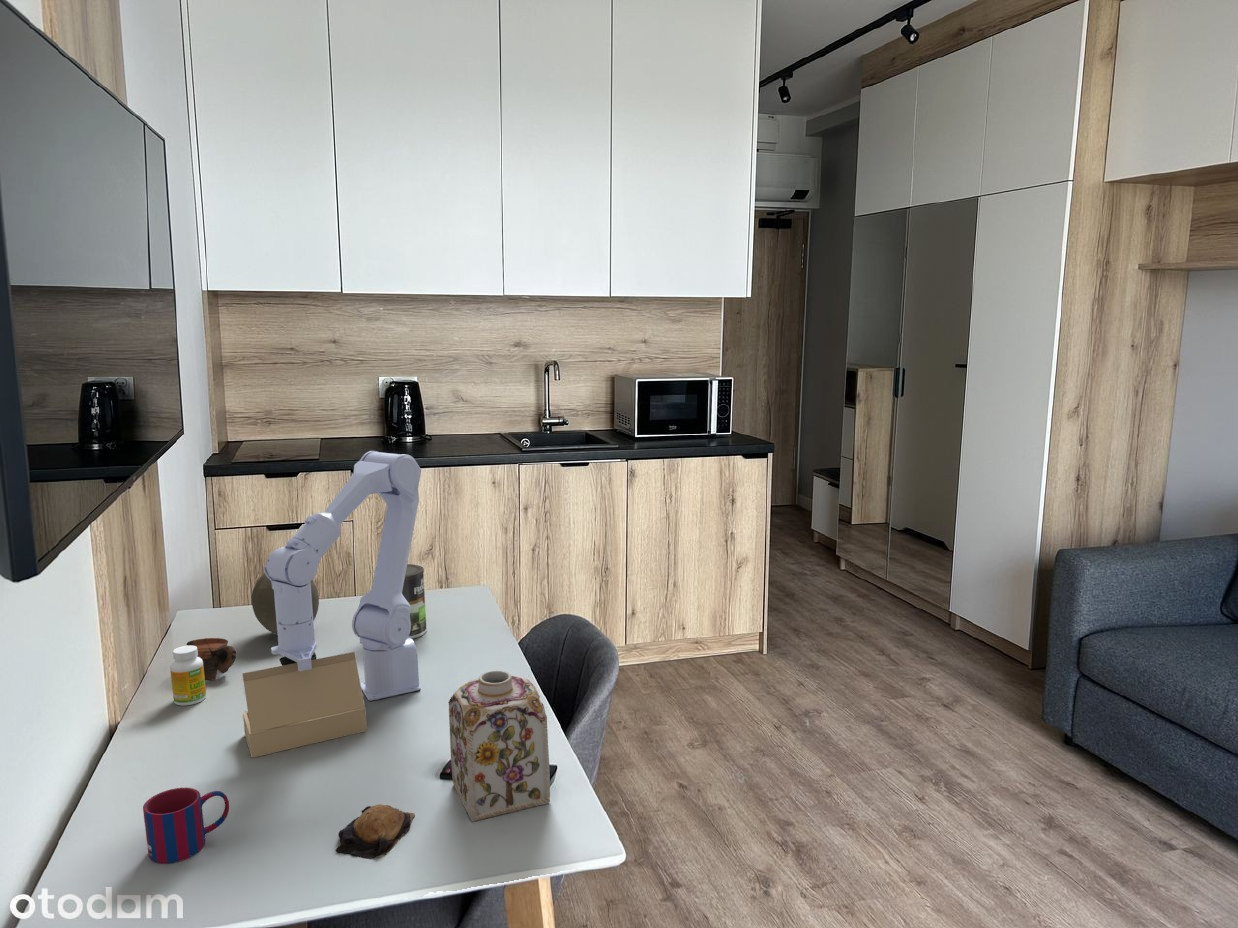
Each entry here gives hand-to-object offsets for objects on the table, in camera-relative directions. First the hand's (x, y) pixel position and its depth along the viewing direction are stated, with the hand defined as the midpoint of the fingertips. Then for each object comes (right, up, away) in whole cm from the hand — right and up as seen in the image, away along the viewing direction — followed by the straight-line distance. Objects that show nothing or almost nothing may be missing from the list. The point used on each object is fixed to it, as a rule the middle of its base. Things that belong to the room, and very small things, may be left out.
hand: (301, 696), depth 150 cm
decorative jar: (+36, -9, -21) cm, 43 cm away
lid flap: (+2, +2, -4) cm, 5 cm away
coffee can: (+6, +2, +45) cm, 46 cm away
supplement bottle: (-25, -4, +13) cm, 28 cm away
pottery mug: (-26, -2, +25) cm, 36 cm away
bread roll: (+21, -11, -30) cm, 38 cm away
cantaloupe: (-19, +2, +45) cm, 49 cm away
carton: (+1, -6, -1) cm, 6 cm away
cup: (-3, -11, -32) cm, 34 cm away
